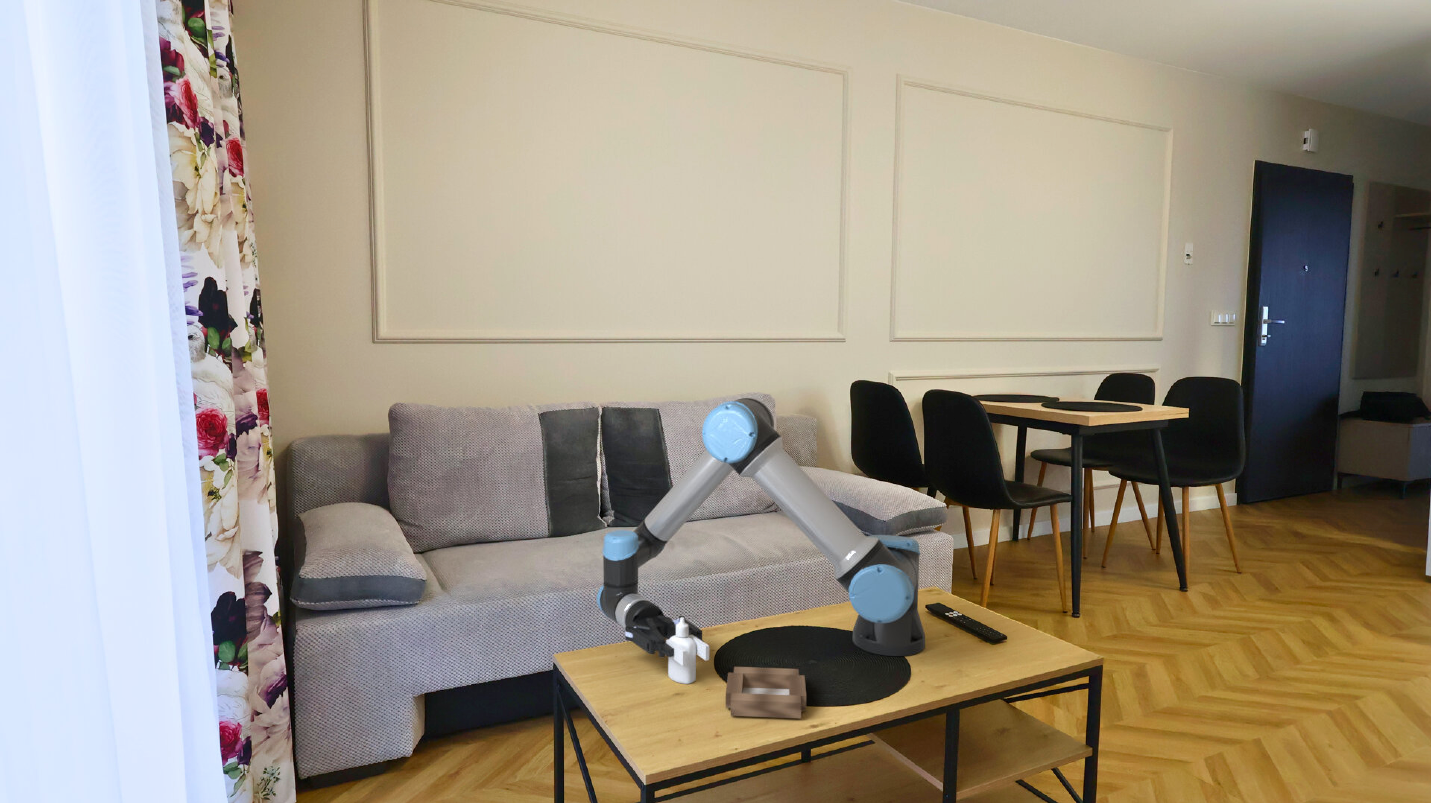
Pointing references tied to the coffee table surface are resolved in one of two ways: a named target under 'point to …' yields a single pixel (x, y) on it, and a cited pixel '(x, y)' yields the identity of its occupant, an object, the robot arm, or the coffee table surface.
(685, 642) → the eye dropper bottle
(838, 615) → the coffee table surface
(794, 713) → the socket block
